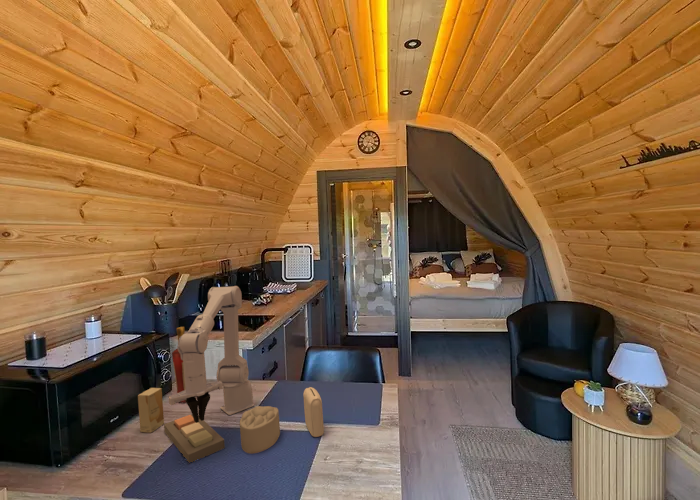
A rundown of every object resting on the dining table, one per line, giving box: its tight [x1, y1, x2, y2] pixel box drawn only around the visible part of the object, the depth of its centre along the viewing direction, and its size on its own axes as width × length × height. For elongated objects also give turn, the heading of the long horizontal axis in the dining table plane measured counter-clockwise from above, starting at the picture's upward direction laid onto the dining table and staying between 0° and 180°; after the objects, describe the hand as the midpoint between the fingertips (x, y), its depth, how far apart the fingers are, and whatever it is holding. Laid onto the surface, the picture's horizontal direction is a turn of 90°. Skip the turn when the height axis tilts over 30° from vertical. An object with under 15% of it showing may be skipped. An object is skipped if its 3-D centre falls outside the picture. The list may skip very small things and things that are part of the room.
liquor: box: [171, 326, 186, 403], centre depth 142 cm, size 7×7×28 cm
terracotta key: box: [173, 414, 196, 430], centre depth 118 cm, size 5×5×2 cm
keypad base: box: [163, 413, 226, 464], centre depth 113 cm, size 10×24×2 cm, turn 41°
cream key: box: [181, 423, 204, 439], centre depth 113 cm, size 5×5×2 cm
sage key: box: [189, 430, 212, 448], centre depth 108 cm, size 5×5×2 cm
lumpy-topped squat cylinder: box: [239, 405, 281, 455], centre depth 110 cm, size 10×13×9 cm
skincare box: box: [137, 387, 165, 433], centre depth 122 cm, size 6×4×12 cm
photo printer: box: [302, 386, 325, 438], centre depth 114 cm, size 10×4×12 cm, turn 20°
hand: (199, 420), depth 107 cm, fingers closed
